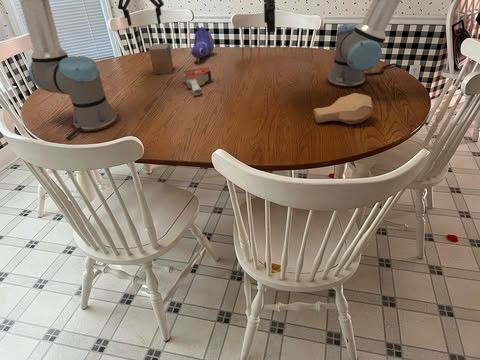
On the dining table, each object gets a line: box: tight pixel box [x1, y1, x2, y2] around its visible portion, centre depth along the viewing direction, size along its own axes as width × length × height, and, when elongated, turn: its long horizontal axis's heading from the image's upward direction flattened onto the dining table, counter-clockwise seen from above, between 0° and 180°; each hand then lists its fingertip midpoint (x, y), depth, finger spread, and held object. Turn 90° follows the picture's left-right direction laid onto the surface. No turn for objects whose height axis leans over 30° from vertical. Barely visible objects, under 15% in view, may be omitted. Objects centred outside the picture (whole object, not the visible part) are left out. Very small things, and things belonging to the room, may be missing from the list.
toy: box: [190, 26, 215, 63], centre depth 186 cm, size 10×17×25 cm
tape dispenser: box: [180, 66, 212, 96], centre depth 156 cm, size 18×5×20 cm
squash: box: [313, 92, 374, 125], centre depth 122 cm, size 11×20×9 cm, turn 92°
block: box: [148, 42, 174, 75], centre depth 173 cm, size 8×9×12 cm
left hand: (144, 24), depth 163 cm, fingers open, 13 cm apart
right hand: (269, 26), depth 127 cm, fingers open, 13 cm apart
